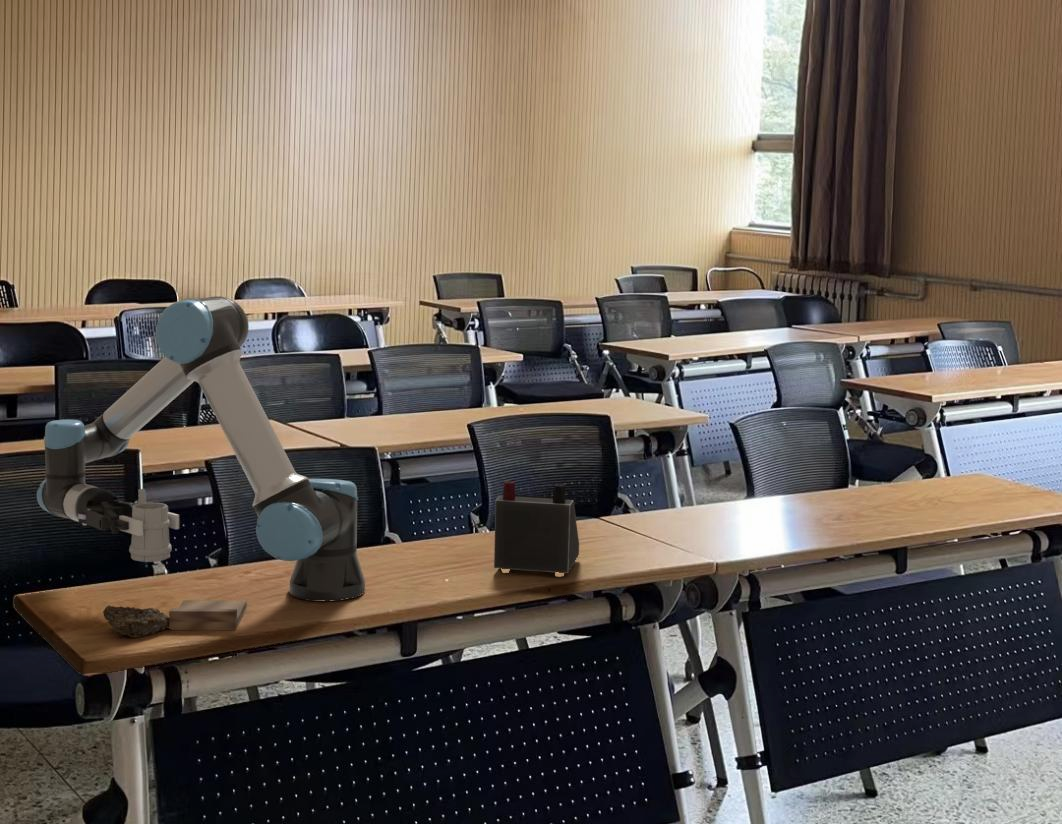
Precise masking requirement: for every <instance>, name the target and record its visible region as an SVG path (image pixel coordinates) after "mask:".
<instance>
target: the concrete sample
mask: <svg viewBox="0 0 1062 824" xmlns="http://www.w3.org/2000/svg"><path fill="white" fill-rule="evenodd" d="M102 614H103V615H102V616H103V617H104V619H105V620H106V621H107V623H108V624H109V625H110V627H112V630H113V631H112V632H113V634H117V635H119V636H123V635H125V636H127V637H129V636H130V637H131V638H133V637H134V638H138V637H139V636H142V637H145V636H149V635H153V634H156V633H157V632H160V631H164V630H165V629H166V628H169V615H167V614H165V613H164V612H160V610H159V609H156V608H154V607H149V608H142V609H141V608H136V607H135V606H133V607H130V606H126V607H125V606H124V607H123V606H122V605H120V606H114V605H112V606H111V605H110V604H109V605H107V606H105V608H104V609H103V610H102ZM154 632H155V633H154ZM152 633H153V634H152ZM148 634H149V635H148Z"/></svg>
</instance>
